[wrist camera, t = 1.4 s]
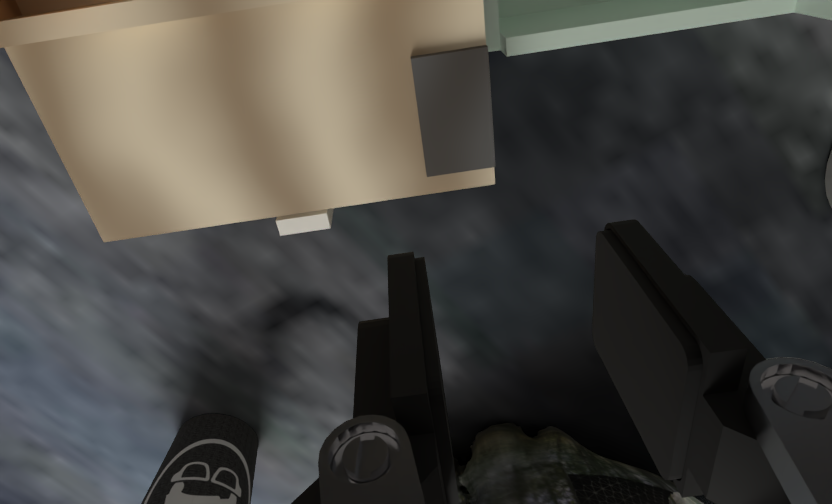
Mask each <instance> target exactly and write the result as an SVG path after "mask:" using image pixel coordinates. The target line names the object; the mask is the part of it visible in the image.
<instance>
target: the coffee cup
mask: <svg viewBox="0 0 832 504" xmlns="http://www.w3.org/2000/svg"><path fill="white" fill-rule="evenodd" d="M257 449H258V439H257V436H256V434H255V432H254V431H253V429H252V428H251V427H250V426H248V425H247V424H246V423H244V422H243V421H241V420H239V419H237V418H234V417H231V416H228V415H222V414H205V415H200V416H196V417H194V418H192V419H190V420H188V421H187V422H185V423H184V424H183V425H182V427H181V428H180V430H179V432H178V433H177V435H176V437H175V439H174V441H173V443H172V445H171V447H170V449H169V451H168V453H167V455H166V457H165V459H164V461H163V463H162V465H161V467H160V468H159V470H158V472H157V474H156V476H155V478H154V480H153V482H152V484H151V486H150V488H149V490H148V492H147V494H146V496H145V498H144V499H143V501H142V503H141V504H250V503H251V495H252V487H253V480H254V472H255V464H256V457H257Z"/></svg>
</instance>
